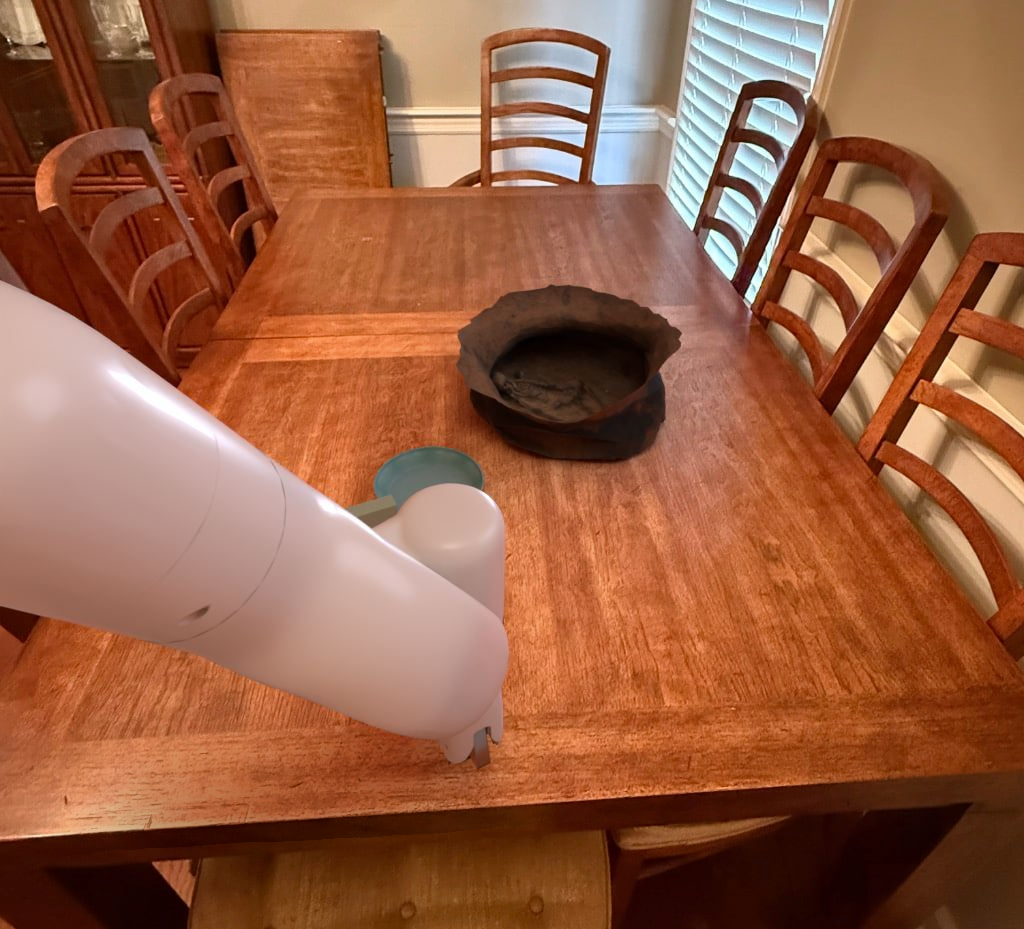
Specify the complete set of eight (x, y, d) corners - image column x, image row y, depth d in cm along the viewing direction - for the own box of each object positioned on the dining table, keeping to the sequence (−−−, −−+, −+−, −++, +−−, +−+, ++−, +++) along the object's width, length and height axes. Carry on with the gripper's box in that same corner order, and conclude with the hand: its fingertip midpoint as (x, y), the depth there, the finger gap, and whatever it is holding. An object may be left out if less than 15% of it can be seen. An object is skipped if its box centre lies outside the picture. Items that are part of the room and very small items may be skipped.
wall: (253, 600, 80) (237, 552, 75) (245, 571, 83) (229, 523, 78) (402, 551, 86) (396, 504, 81) (389, 526, 90) (383, 479, 85)
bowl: (663, 500, 97) (675, 418, 86) (436, 473, 103) (422, 393, 93) (676, 358, 121) (686, 280, 110) (491, 343, 127) (484, 268, 117)
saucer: (396, 454, 101) (394, 439, 99) (494, 468, 99) (494, 453, 97) (359, 523, 90) (356, 508, 88) (469, 540, 88) (469, 525, 86)
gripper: (377, 576, 57) (397, 700, 69) (444, 729, 47) (454, 845, 58) (462, 548, 59) (467, 672, 71) (543, 687, 49) (533, 806, 61)
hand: (461, 749), depth 65 cm, fingers closed
